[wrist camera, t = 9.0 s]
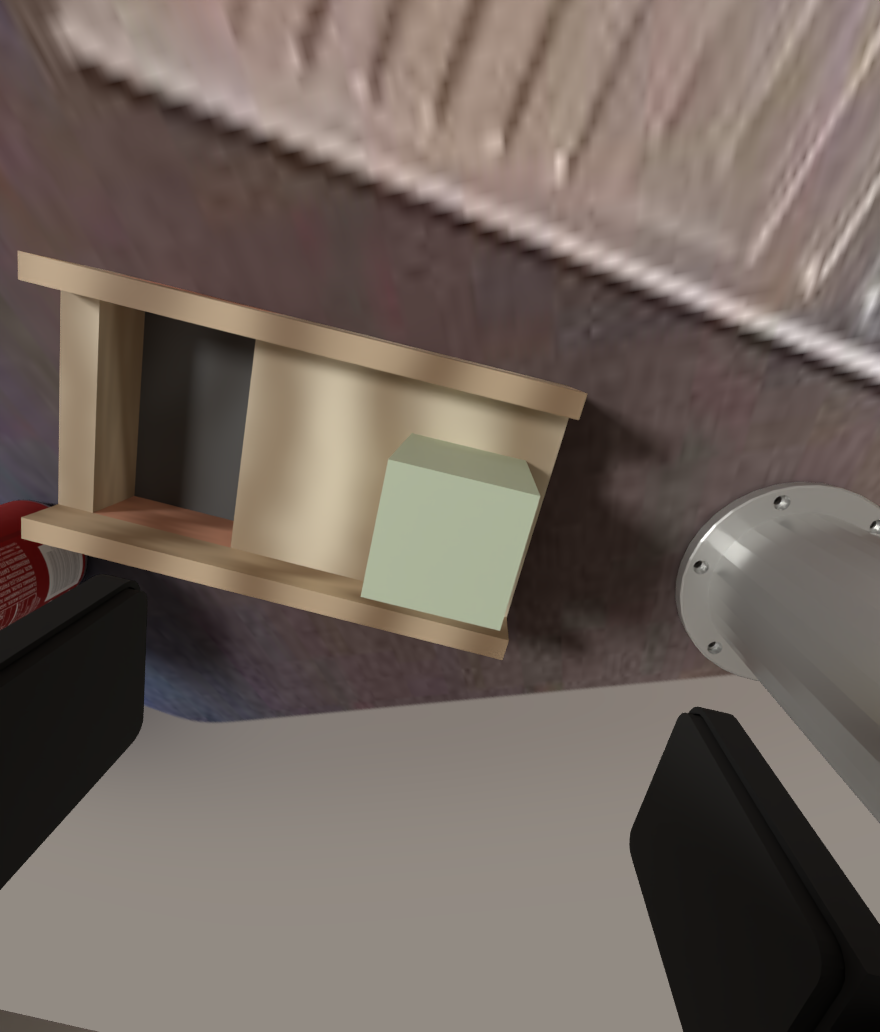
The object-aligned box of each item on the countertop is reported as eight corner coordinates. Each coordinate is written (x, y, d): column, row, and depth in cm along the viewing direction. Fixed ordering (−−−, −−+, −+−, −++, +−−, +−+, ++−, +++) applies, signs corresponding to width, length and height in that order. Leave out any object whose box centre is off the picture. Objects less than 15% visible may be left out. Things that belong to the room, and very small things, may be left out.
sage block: (525, 460, 27) (540, 496, 20) (495, 566, 29) (500, 630, 22) (411, 433, 27) (388, 459, 20) (388, 540, 29) (360, 597, 22)
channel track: (565, 385, 29) (587, 393, 23) (498, 603, 34) (502, 659, 27) (115, 272, 29) (17, 250, 23) (106, 504, 34) (21, 538, 27)
